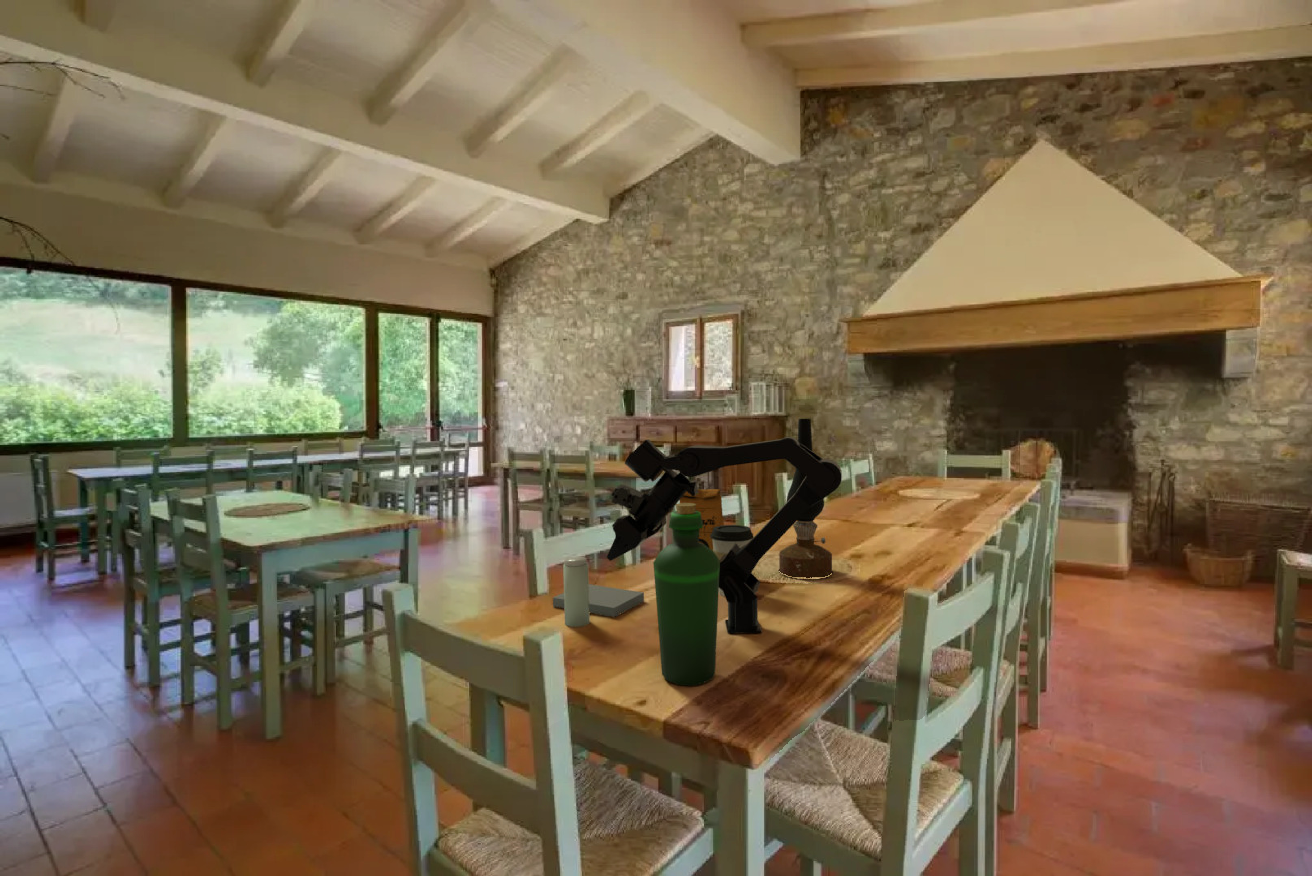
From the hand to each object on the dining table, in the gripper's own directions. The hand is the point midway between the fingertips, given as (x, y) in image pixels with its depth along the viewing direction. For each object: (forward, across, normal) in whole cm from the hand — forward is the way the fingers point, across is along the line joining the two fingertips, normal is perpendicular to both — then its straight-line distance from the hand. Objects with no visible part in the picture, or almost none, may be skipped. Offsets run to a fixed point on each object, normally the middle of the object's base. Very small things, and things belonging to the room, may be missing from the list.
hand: (616, 553), depth 134 cm
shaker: (+15, +4, +3) cm, 16 cm away
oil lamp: (-12, -44, +36) cm, 58 cm away
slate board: (+15, -8, +3) cm, 17 cm away
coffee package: (+4, -37, +16) cm, 41 cm away
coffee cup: (-3, -22, +24) cm, 33 cm away
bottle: (-3, +24, +25) cm, 35 cm away
